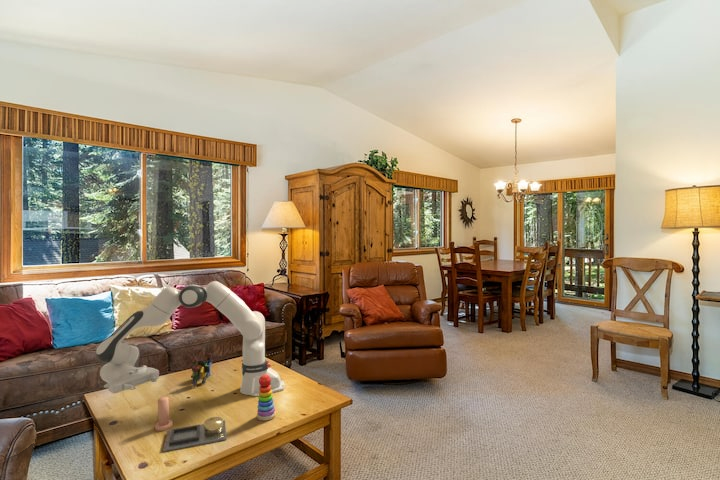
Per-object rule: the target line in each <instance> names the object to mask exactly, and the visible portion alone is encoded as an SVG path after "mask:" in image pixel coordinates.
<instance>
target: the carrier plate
mask: <svg viewBox="0 0 720 480" xmlns="http://www.w3.org/2000/svg"><path fill="white" fill-rule="evenodd" d="M226 428H227V427H226V420H224V419H223V417H220V416H213V417H209V418H207V419H206V420H205V421H204V422H203V423H201V424H195V425H194V424H193V425H188V426H184V427H183V426H182V427H177V428H176V427H175V428H172V429H168V430H166V431H167V432H166V434H165V435H166V436H165V440H164V444H163V448H162V449H163V450H162V451H163V452H170V451H174V450H180V449H185V448H190V447H197V446H201V445H206V444H211V443H217V442H222V441H226V440H227V433H226V432H227V430H226Z"/></svg>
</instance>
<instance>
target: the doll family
mask: <svg viewBox="0 0 720 480" xmlns="http://www.w3.org/2000/svg"><path fill="white" fill-rule="evenodd" d="M213 355H214V353H212V352H207V353H206V357H207V359H206V361H205V360H197V365H195V366H193V365H192V367H191V371H192V374H191V375H190V378H191V379H192V385H191V389H197V388H198V382H201V383H200V386H205V385H206V384H207V383H208V382H207V379H208V378H210V377H211V376H212V371H211V369H212V363H213V362H214V361H213V359H212V357H213Z"/></svg>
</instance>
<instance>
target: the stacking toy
mask: <svg viewBox="0 0 720 480" xmlns="http://www.w3.org/2000/svg"><path fill="white" fill-rule="evenodd" d="M270 382H271V378H270V376H268V375H262V376H261V377H260V379H259V384H260V385H261V386H260V387H259V390H260V392H259V396H257V398H258V401H257V404H258V405H257V413H256V418H257V420H259V421H270V420H272V419H274V418H275V416H276V407H275V403H274V398H273V393H272V390H271V386H270V385H269V384H270Z"/></svg>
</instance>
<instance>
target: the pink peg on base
mask: <svg viewBox="0 0 720 480" xmlns="http://www.w3.org/2000/svg"><path fill="white" fill-rule="evenodd" d="M169 398H170V397H168V396H163V397H160V398H158V399H157V415H158V416H157V417H158V422H156V423H155V425H154V428H155V431H157V432H164V431H168V430H171V428H173V420H172V419H170V402H169Z"/></svg>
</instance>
